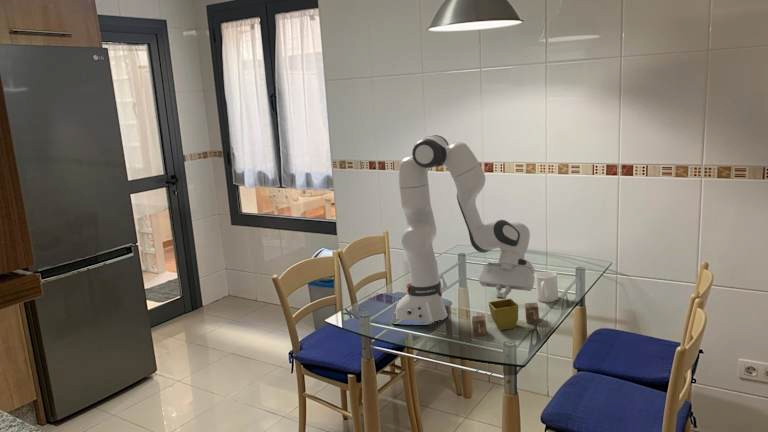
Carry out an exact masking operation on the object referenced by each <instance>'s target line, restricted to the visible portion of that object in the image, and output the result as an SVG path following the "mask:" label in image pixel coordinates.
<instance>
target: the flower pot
mask: <svg viewBox="0 0 768 432" xmlns="http://www.w3.org/2000/svg"><path fill="white" fill-rule="evenodd" d="M488 307H489V312H490V315H491V318H492V320H493V322H494V323H495V325H496V327H498V329H499V330H500V331H505V330H510V329H515V328H516V326H517V324H518V320H519V304H517V302H515V301H514V300H513V298H506V299H499V300H494V301H489V302H488Z"/></svg>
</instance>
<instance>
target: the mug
mask: <svg viewBox="0 0 768 432" xmlns="http://www.w3.org/2000/svg"><path fill="white" fill-rule="evenodd" d="M534 282H535V291H536V298H537V299H536V300H538V302H541V303H553V301H554V302H556V301H558V299H559V289H558V276H557V273H556V272H555V271H554V272H553V271H541V272H537V273H534ZM555 300H556V301H555Z"/></svg>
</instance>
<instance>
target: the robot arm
mask: <svg viewBox="0 0 768 432" xmlns="http://www.w3.org/2000/svg"><path fill="white" fill-rule="evenodd" d="M442 166H443V167H445V168H446V169H447V170H448V172H449V174H450V176H451V177H452V179H453V182H454V184H455V188H456V200H457V204H458V206H459V208H460V213H461V214H462V218H463V219H464V222H465V225H466V228H467V232H468V236H469V241H470V243H471V246H472V247H473V249H475V250H476V251H477V252H479V253H484V254H485V253H488V252H490V251H492V250H496V249H498V248H499V249H500V250H501V253H500V255H499V259H498V262H494V263H493V262H487V263H485V264H484V265H483V266H482V270H481V272H480V275H479V277H478V283H479V284H480V286H482V287H487V288H495V290H496V293H497V294H496V298H497V299H499V300H505V299H507V296H508V295H509V294H510V293H511V292H512V290H516V291H517V290H518V291H525V292H526V291H528V292H530V291H532V290H533V288H534V285H535V272H536V270H535V269H536V268H535V267H534V266H533V264H532V263H531V262H530V261H529V260H527V259H525V256H526V253H527V251H528V249H529V243H530V235H531V232H530V229H529V227H528V226H527V225H525V224H523V223H520V222H509V221H507V220H505V219H499V220H496V221H493V222H490V223H487V224H484V222H483V221H482V218H481V215H480V213H479V211H478V208H477V204H476V201H477V197H478V196H479V194H480V193H481V191H483V188H484V187H485V183H486V175H485V172H484V170H483V168H482V165H481V164H480V162H479V161H478V159H477V157H476V156H475V154H474V152H473V151H472V149H471V148H470V147H469V145H467V144H466V143H465V142H461V141H460V142H455V143H452V144H449V142H448V140H447V139H445V138H444V137H443V136H441V135H437V134H436V135H433V134H432V135H429V136H425V137H424V138H422V139H420V140H418V141H417V142H416V143H415V144H414V146H413V149H412V155H411V156H407V157H405V158H403V159H402V160H400V162H399V166H398V182H399V183H398V186H399V193H400V194H399V195H400V202H401V208H402V210H403V212H404V216H405V219H406V228H405V229H404V230H403V233H402V235H401V244H402V245H401V246H402V248H403V249H404V253H405V256H406V260H407V263H408V268H409V275H410V281H408V282H407V284H406V291H407V293H406V294H405V295H404V296H403V297H402V298H401V299H400V300H399V301H398V302H397V304H396V308H395V313H396V319H403V320H406V319H410V320H412V319H413V320H420V321H422V322H424V321H426V323H424V324H429V323H432V322H434V321H438V320H441V321H444V320H445V319H446V318H448V313H447V310H446V307H445V303H444V300H443V288H442V287H443V286H442V283H441V282H442V281H441V280H440V274H439V267H438V261H437V259H436V254H435V252H434V247H433V241H434V240H435V238H436V235H437V226H436V221H435V217H434V212H433V209H432V204H431V195H430V188H429V187H430V186H429V179H428V173H429V172H428V171H429V169H432V168H435V167H436V168H437V167H442ZM503 289H505V290H504V291H503V292H501V291H502V290H503ZM438 322H439V321H438ZM422 324H423V323H422Z"/></svg>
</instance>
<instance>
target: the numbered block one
mask: <svg viewBox="0 0 768 432" xmlns="http://www.w3.org/2000/svg"><path fill="white" fill-rule="evenodd" d="M471 317H472V318H471V323H472V333H473V338H479V337H481V338H482V337H488V335H487V333H488V332H487V323H486V322H487V321H486V315H475V316H471Z"/></svg>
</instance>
